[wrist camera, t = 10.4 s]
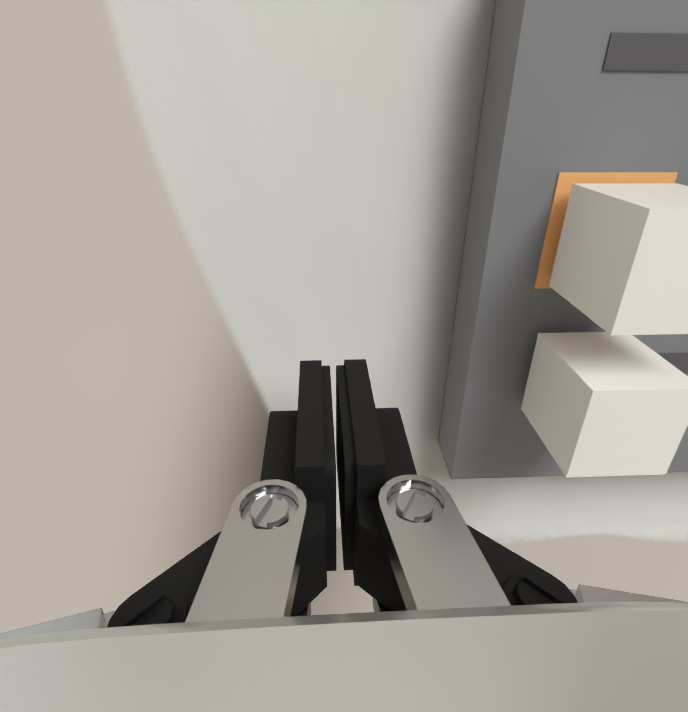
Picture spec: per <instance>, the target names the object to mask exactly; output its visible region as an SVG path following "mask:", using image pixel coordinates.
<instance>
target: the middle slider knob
mask: <svg viewBox="0 0 688 712" xmlns="http://www.w3.org/2000/svg"><path fill="white" fill-rule="evenodd" d="M549 286H550V287H551V288H552V289H554V290H555V291H556V292H557V293H559V294H560V295H561V296H562V297H564V298H565V299H566V300H567V301H568V302H570V303H571V304H572V305H573V306H575V307H576V308H577V309H578V310H580V311H581V312H582V313H583V314H585V315H586V316H587V317H588V318H590V319H591V320H592V321H593V322H595V323H596V324H597V325H598V326H600V327H601V328H602V329H603V330H605V331H606V332H607V333H608V334H610V335H659V334H688V186H686V185H681V184H677V183H582V184H572V188H571V192H570V196H569V201H568V205H567V209H566V214H565V218H564V223H563V227H562V231H561V236H560V240H559V244H558V249H557V253H556V258H555V262H554V266H553V271H552V275H551V279H550V284H549Z"/></svg>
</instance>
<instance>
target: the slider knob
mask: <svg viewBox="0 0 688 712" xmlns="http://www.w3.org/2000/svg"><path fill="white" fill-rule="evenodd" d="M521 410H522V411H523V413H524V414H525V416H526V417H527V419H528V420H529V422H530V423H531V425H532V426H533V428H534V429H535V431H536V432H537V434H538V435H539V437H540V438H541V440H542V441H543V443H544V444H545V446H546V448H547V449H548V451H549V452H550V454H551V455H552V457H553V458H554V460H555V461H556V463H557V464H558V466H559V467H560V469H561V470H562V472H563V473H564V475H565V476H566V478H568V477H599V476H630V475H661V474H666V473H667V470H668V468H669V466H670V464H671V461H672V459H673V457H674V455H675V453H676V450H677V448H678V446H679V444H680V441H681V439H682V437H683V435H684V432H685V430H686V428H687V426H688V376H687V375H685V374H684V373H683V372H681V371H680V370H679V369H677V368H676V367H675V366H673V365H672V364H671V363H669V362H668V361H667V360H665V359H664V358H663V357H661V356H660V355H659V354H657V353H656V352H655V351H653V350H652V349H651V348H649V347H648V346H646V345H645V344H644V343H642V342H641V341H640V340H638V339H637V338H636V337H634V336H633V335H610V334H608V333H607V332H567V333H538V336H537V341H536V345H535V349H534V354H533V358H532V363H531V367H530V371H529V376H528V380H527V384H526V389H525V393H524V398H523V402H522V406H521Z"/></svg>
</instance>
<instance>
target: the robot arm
mask: <svg viewBox="0 0 688 712" xmlns="http://www.w3.org/2000/svg"><path fill="white" fill-rule="evenodd" d="M336 452H337V471H338V487H339V502H340V518H341V533H342V549H343V564H344V570H353V574H354V585H355V586H360V587H361V588H362V589H363V590H365V591H366V592H367V593H368V594H370V595H371V596H372V597H373V608H374V612H370V613H350V614H332V615H312V616H311V601H312V600H313V599H315V597H317V596H318V595H319V593H321V592H322V590H323V589H325V588H326V587H327V571H336V460H335V443H334V427H333V410H332V394H331V378H330V366H321V360H318V361H300V378H299V397H298V411H271V412H270V416H269V423H268V430H267V437H266V444H265V451H264V459H263V466H262V473H261V480H260V482H256V483H254V484H252V485H250V486H248V487H246V488H245V489H244V490H243V491H242V492H240V493H239V494H238V495H237V497H236V498H235V500H234V502H233V504H232V506H231V509H230V511H229V514H228V516H227V519H226V521H225V524H224V526H223V529H222V531H221V532H219V533H218V534H216V535H215V536H214V537H212V538H211V539H209V540H208V541H207V542H205V543H204V544H202V545H201V546H200V547H198V548H197V549H195V550H194V551H193V552H191V553H190V554H188V555H187V556H186V557H184V558H183V559H181V560H180V561H179V562H177V563H176V564H174V565H173V566H172V567H170V568H169V569H167V570H166V571H165V572H163V573H162V574H161V575H159V576H158V577H156V578H155V579H153V580H152V581H151V582H149V583H148V584H146V585H145V586H144V587H142V588H141V589H140V590H138V591H137V592H135V593H134V594H133V595H131V596H130V597H129V598H128V599H127V600H125V601H124V602H123V603H122V604H121V605H120V606H119V607H118V608H117V610H116V611H113V612H109V613H106V614H104V613H103V610H102V608H99V609H96V610H92V611H88V612H84V613H80V614H76V615H72V616H68V617H64V618H60V619H57V620H53V621H49V622H45V623H41V624H37V625H33V626H29V627H25V628H21V629H17V630H13V631H9V632H5V633H2V634H0V712H688V602H684V601H679V600H673V599H666V598H660V597H654V596H648V595H641V594H635V593H629V592H623V591H617V590H611V589H605V588H598V587H592V586H586V585H580V584H579V585H578V588H577V590H572V589H568V588H567V586H566V585H565V584H564V583H562V582H561V581H560V580H558V579H557V578H555V577H554V576H552V575H551V574H549V573H548V572H546V571H544V570H543V569H541V568H539V567H538V566H536V565H534V564H532V563H531V562H529V561H527V560H526V559H524V558H522V557H521V556H519V555H517V554H516V553H514V552H512V551H511V550H509V549H507V548H505V547H504V546H502V545H500V544H499V543H497V542H495V541H494V540H492V539H490V538H489V537H487V536H485V535H484V534H482V533H480V532H479V531H477V530H475V529H473V528H472V527H470V526H468V525H467V524H466V523H465V521H464V519H463V518H462V516H461V514H460V512H459V510H458V509H457V507H456V505H455V503H454V501H453V499H452V498H451V496H450V494H449V493H448V492H447V490H446V489H445V488H444V487H443V486H442V485H440V484H439V483H438V482H436V481H435V480H432V479H430V478H428V477H425V476H420V475H417V473H416V470H415V466H414V462H413V459H412V455H411V451H410V448H409V444H408V441H407V437H406V433H405V430H404V426H403V423H402V419H401V415H400V412H399V409H398V408H375V404H374V399H373V394H372V389H371V384H370V379H369V374H368V369H367V364H366V360H365V359H362V360H344V365H339V366H336Z"/></svg>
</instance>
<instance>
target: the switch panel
mask: <svg viewBox="0 0 688 712" xmlns="http://www.w3.org/2000/svg"><path fill="white" fill-rule="evenodd" d="M582 183H677V184H681V185H686V186H688V0H496V3H495V11H494V18H493V26H492V34H491V41H490V49H489V57H488V64H487V72H486V80H485V87H484V95H483V103H482V110H481V118H480V126H479V133H478V141H477V149H476V156H475V164H474V172H473V179H472V187H471V195H470V202H469V210H468V218H467V225H466V233H465V241H464V248H463V256H462V264H461V271H460V279H459V287H458V294H457V302H456V310H455V317H454V325H453V333H452V340H451V348H450V356H449V363H448V371H447V379H446V386H445V394H444V402H443V409H442V417H441V425H440V432H439V440H438V443H439V446H440V449H441V451H442V454H443V457H444V460H445V463H446V466H447V468H448V471H449V474H450V477H451V479H469V478H500V477H532V476H563V475H564V473H563V472H562V470H561V469H560V467H559V466H558V464H557V463H556V461H555V460H554V458H553V457H552V455H551V454H550V452H549V451H548V449H547V448H546V446H545V444H544V443H543V441H542V440H541V438H540V437H539V435H538V434H537V432H536V431H535V429H534V428H533V426H532V425H531V423H530V422H529V420H528V419H527V417H526V416H525V414H524V413H523V411H522V410H521V406H522V402H523V398H524V393H525V389H526V384H527V380H528V376H529V371H530V367H531V363H532V358H533V354H534V349H535V345H536V341H537V336H538V333H567V332H606V331H605V330H603V329H602V328H601V327H600V326H598V325H597V324H596V323H595V322H593V321H592V320H591V319H590V318H588V317H587V316H586V315H585V314H583V313H582V312H581V311H580V310H578V309H577V308H576V307H575V306H573V305H572V304H571V303H570V302H568V301H567V300H566V299H565V298H564V297H562V296H561V295H560V294H559V293H557V292H556V291H555V290H554V289H552V288H551V287H550V286H549V284H550V279H551V275H552V271H553V266H554V262H555V258H556V253H557V249H558V244H559V240H560V236H561V231H562V227H563V223H564V218H565V214H566V209H567V205H568V201H569V196H570V192H571V188H572V184H582ZM633 336H634V337H636V338H637V339H638V340H640V341H641V342H642V343H644V344H645V345H646V346H648V347H649V348H651V349H652V350H653V351H655V352H656V353H657V354H659V355H660V356H661V357H663V358H664V359H665V360H667V361H668V362H669V363H671V364H672V365H673V366H675V367H676V368H677V369H679V370H680V371H681V372H683V373H684V374H685V375H687V376H688V334H659V335H633ZM667 472H688V426H687V428H686V430H685V432H684V435H683V437H682V439H681V441H680V444H679V446H678V448H677V450H676V453H675V455H674V457H673V459H672V461H671V464H670V466H669V468H668V470H667Z"/></svg>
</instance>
